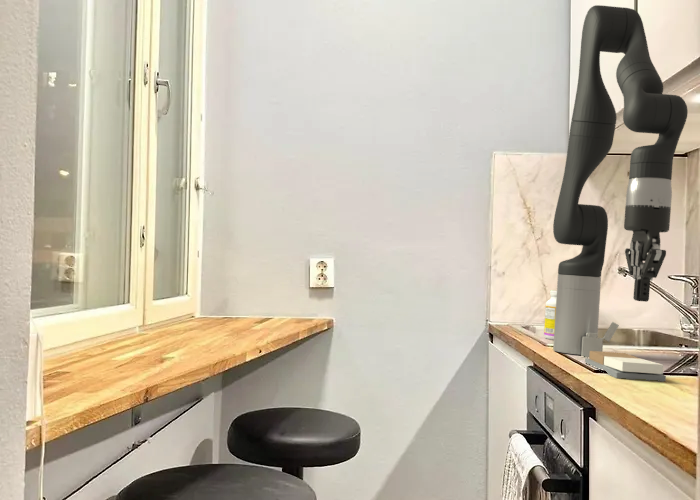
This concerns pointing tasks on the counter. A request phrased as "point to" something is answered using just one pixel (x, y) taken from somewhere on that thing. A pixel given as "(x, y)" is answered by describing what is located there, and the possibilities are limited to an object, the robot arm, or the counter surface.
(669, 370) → the counter surface
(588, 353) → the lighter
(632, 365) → the board
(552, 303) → the supplement bottle
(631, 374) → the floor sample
